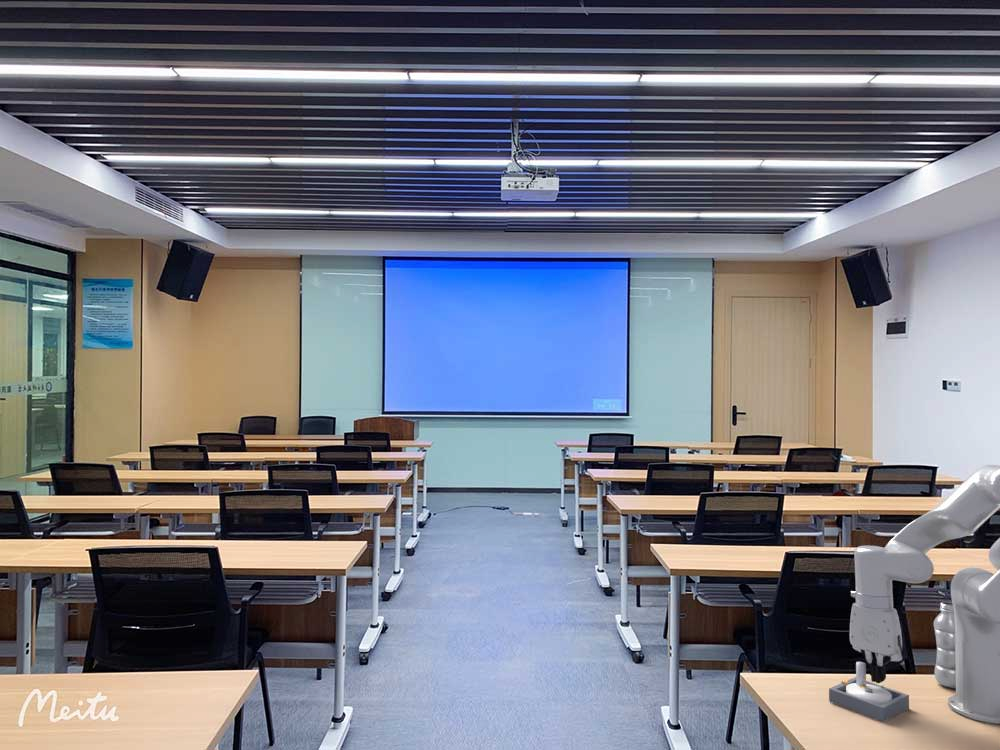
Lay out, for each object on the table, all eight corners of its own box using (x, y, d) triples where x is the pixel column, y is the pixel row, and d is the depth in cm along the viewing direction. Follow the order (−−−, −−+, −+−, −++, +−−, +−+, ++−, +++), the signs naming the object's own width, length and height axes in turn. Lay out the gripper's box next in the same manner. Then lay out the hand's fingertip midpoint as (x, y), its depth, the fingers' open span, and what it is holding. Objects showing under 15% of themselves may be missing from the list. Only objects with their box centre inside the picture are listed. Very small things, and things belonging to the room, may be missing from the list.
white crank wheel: (900, 709, 149) (899, 677, 150) (857, 707, 150) (857, 676, 150) (878, 691, 158) (878, 662, 159) (839, 690, 159) (838, 660, 159)
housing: (855, 689, 162) (855, 675, 163) (909, 708, 153) (908, 692, 153) (829, 701, 155) (829, 686, 156) (883, 722, 146) (883, 705, 146)
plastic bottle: (972, 693, 162) (971, 608, 162) (941, 690, 163) (939, 606, 164) (959, 682, 168) (958, 601, 169) (929, 679, 169) (928, 599, 170)
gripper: (834, 596, 161) (837, 675, 160) (900, 611, 149) (904, 696, 148) (850, 591, 165) (854, 667, 164) (916, 605, 153) (920, 687, 152)
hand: (878, 680), depth 156 cm, fingers closed
